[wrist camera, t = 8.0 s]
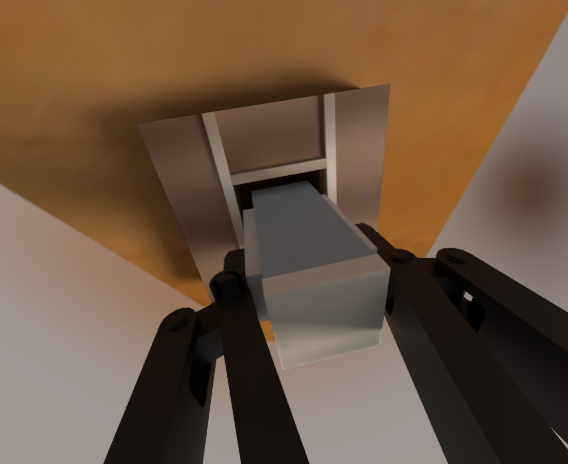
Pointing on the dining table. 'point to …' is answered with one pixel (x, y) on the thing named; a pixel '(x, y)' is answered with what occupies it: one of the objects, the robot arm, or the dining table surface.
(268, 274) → the peg
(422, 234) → the dining table surface
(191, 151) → the socket block
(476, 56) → the dining table surface
